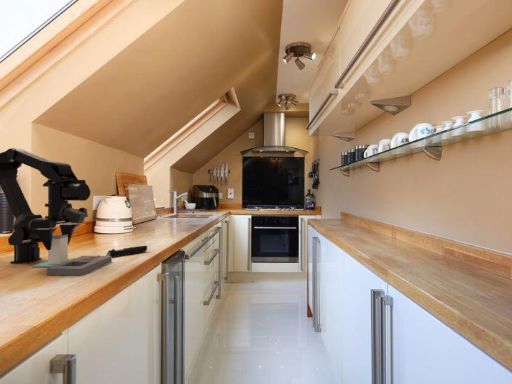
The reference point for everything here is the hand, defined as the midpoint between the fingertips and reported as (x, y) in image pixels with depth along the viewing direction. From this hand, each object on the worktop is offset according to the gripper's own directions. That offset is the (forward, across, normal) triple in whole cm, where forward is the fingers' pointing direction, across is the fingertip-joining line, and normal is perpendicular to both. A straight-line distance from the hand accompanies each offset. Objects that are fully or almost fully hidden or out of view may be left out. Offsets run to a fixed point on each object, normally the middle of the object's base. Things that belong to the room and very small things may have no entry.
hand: (58, 247), depth 104 cm
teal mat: (+6, 0, 0) cm, 6 cm away
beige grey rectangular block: (+5, 0, 0) cm, 5 cm away
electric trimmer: (+6, +17, -16) cm, 24 cm away
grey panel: (+6, -5, -11) cm, 13 cm away
